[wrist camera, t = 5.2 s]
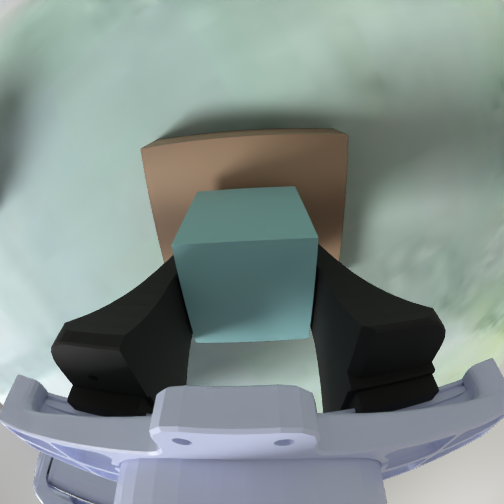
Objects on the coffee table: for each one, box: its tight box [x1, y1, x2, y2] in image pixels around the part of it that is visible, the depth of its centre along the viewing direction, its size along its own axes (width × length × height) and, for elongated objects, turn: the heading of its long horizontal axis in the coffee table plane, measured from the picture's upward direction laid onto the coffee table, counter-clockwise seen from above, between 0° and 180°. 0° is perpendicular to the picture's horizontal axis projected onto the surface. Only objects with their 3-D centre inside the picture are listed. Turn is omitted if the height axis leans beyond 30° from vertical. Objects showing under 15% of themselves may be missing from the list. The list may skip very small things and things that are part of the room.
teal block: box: [172, 186, 318, 343], centre depth 12 cm, size 4×4×5 cm
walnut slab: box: [141, 128, 348, 263], centre depth 16 cm, size 10×10×3 cm
